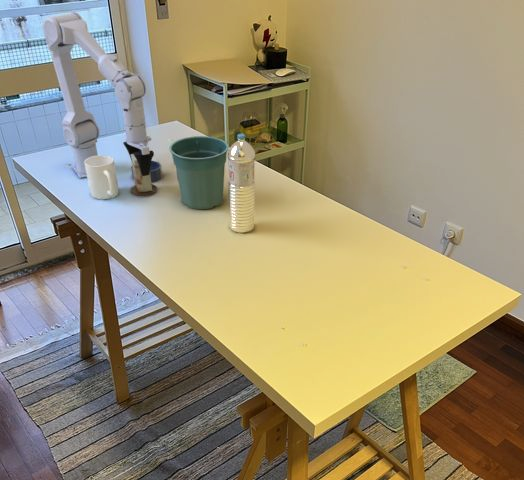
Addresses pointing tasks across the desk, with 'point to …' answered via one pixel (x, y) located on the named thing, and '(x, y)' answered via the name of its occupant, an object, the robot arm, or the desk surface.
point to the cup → (101, 177)
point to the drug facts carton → (140, 177)
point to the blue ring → (153, 171)
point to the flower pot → (200, 170)
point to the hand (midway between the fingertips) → (141, 170)
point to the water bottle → (241, 185)
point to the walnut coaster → (148, 193)
